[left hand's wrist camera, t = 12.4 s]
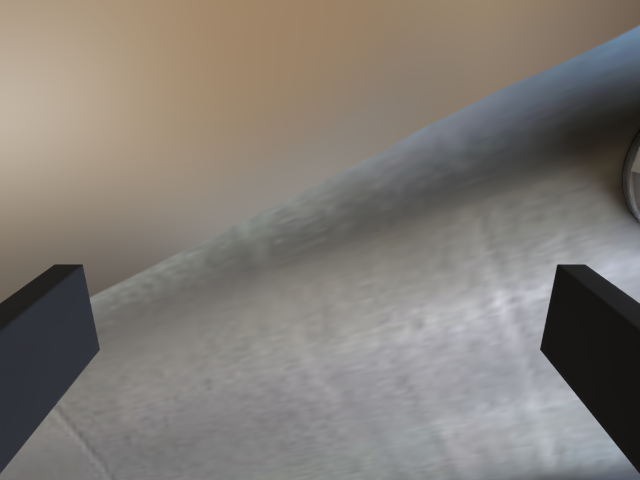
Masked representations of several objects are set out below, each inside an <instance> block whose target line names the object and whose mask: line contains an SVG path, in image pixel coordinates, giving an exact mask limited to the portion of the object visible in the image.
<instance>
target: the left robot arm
mask: <svg viewBox="0 0 640 480" xmlns="http://www.w3.org/2000/svg"><path fill="white" fill-rule="evenodd" d="M623 191H624V196H625V200H626V202H627V205H628V207H629V209H630V211H631V212H632V213H633V215H634V216H635V217H636V218H637V219H638V220H639V221H640V132H639V133H638V135H637V136H636V138H635V140H634V142H633V144H632V146H631V148H630V150H629V152H628V155H627V158H626V161H625V165H624V171H623ZM99 350H100V348H99V343H98V338H97V333H96V328H95V323H94V318H93V313H92V309H91V304H90V299H89V294H88V289H87V284H86V279H85V274H84V269H83V265H54V266H52V267H51V268H49V269H48V270H47V271H45V272H44V273H42V274H41V275H40V276H38V277H37V278H35V279H34V280H33V281H31V282H30V283H28V284H27V285H26V286H24V287H23V288H21V289H20V290H19V291H17V292H16V293H14V294H13V295H12V296H10V297H9V298H7V299H6V300H5V301H3V302H2V303H0V473H1V472H2V471H3V470H4V468H5V467H6V466H7V465H8V463H9V462H10V461H11V460H12V458H13V457H14V456H15V455H16V453H17V452H18V451H19V450H20V448H21V447H22V446H23V445H24V443H25V442H26V441H27V440H28V438H29V437H30V436H31V435H32V433H33V432H34V431H35V430H36V428H37V427H38V426H39V425H40V423H41V422H42V421H43V420H44V418H45V417H46V416H47V415H48V413H49V412H50V411H51V410H52V408H53V407H54V406H55V405H56V403H57V402H58V401H59V400H60V399H61V397H62V396H63V395H64V394H65V392H66V391H67V390H68V389H69V387H70V386H71V385H72V384H73V382H74V381H75V380H76V379H77V377H78V376H79V375H80V374H81V372H82V371H83V370H84V369H85V367H86V366H87V365H88V364H89V362H90V361H91V360H92V359H93V357H94V356H95V355H96V354H97V352H98V351H99ZM540 350H541V351H542V352H543V354H544V355H545V356H546V357H547V359H548V360H549V361H550V362H551V364H552V365H553V366H554V367H555V369H556V370H557V371H558V372H559V374H560V375H561V376H562V377H563V379H564V380H565V381H566V382H567V384H568V385H569V386H570V387H571V389H572V390H573V391H574V392H575V394H576V395H577V396H578V397H579V399H580V400H581V401H582V402H583V404H584V405H585V406H586V407H587V408H588V410H589V411H590V412H591V413H592V415H593V416H594V417H595V418H596V420H597V421H598V422H599V423H600V425H601V426H602V427H603V428H604V430H605V431H606V432H607V433H608V435H609V436H610V437H611V438H612V440H613V441H614V442H615V443H616V445H617V446H618V447H619V448H620V450H621V451H622V452H623V453H624V455H625V456H626V457H627V458H628V460H629V461H630V462H631V463H632V465H633V466H634V467H635V468H636V470H637V471H638V472H639V473H640V303H638V302H637V301H635V300H634V299H633V298H631V297H630V296H628V295H627V294H626V293H624V292H623V291H621V290H620V289H619V288H617V287H616V286H614V285H613V284H612V283H610V282H609V281H607V280H606V279H605V278H603V277H602V276H600V275H599V274H598V273H596V272H595V271H593V270H592V269H591V268H589V267H588V266H586V265H557V269H556V274H555V279H554V284H553V289H552V294H551V299H550V304H549V309H548V313H547V318H546V323H545V328H544V333H543V338H542V343H541V348H540Z"/></svg>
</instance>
